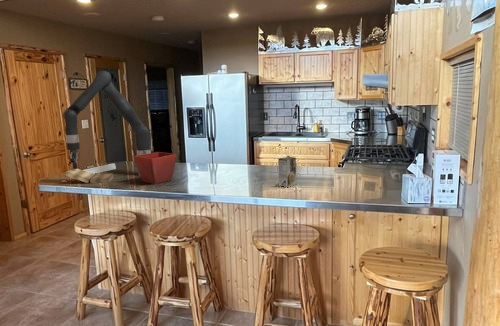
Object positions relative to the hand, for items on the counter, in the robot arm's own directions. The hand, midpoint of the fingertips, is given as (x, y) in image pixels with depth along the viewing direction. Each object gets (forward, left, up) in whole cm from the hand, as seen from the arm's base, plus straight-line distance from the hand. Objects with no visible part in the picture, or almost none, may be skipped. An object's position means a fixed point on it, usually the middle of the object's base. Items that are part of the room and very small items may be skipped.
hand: (75, 169), depth 232 cm
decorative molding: (-2, -32, -9) cm, 33 cm away
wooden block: (-16, 0, -8) cm, 18 cm away
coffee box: (-127, +44, -9) cm, 135 cm away
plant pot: (-51, +12, -9) cm, 53 cm away
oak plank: (-2, 0, -5) cm, 6 cm away
